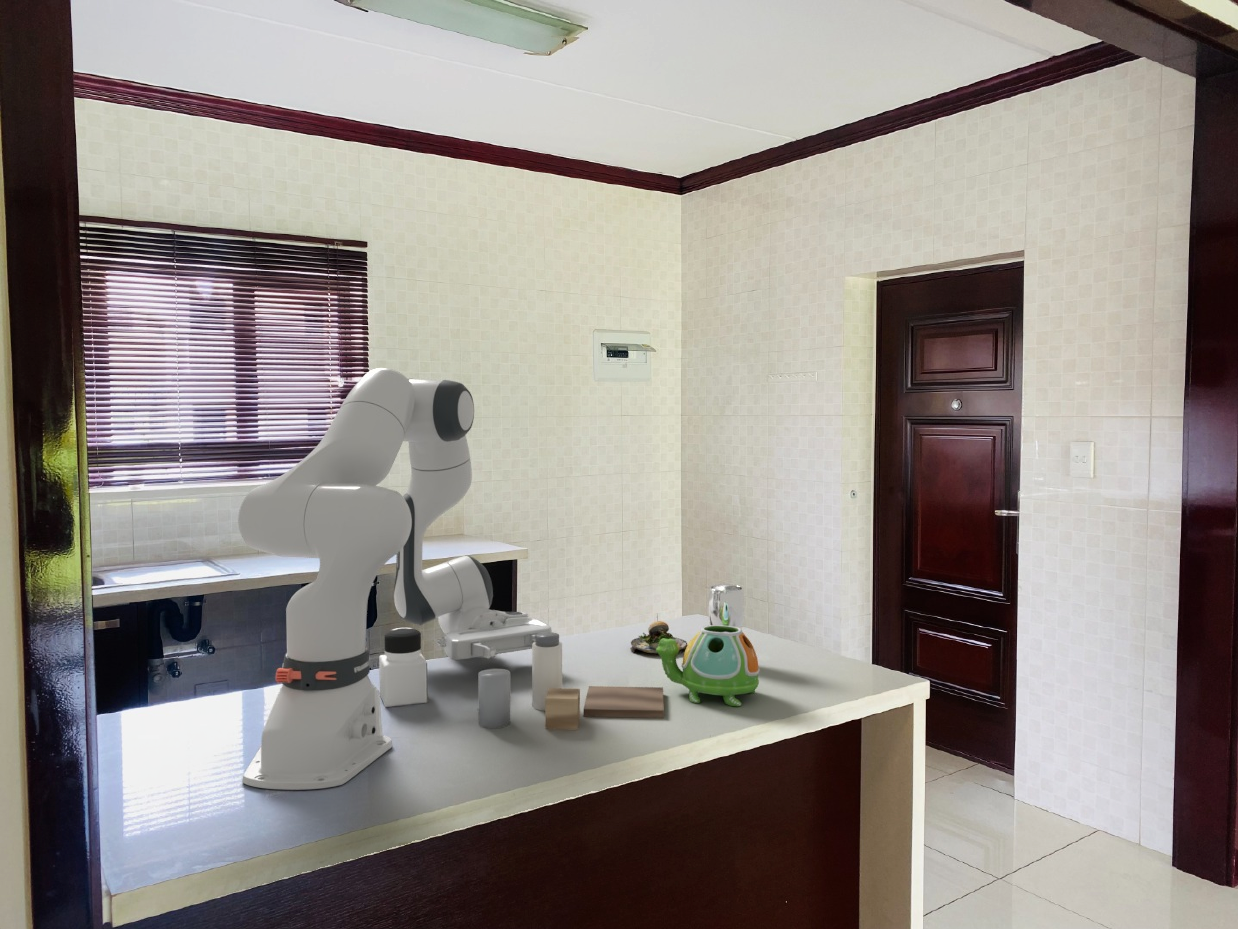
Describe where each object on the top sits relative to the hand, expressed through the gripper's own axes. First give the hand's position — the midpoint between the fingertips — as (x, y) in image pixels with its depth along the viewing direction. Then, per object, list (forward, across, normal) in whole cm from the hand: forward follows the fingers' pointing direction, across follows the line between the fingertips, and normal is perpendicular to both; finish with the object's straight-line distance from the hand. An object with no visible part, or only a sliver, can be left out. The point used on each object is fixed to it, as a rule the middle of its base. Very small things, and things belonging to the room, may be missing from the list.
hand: (516, 649), depth 162 cm
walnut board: (+19, +11, +7) cm, 23 cm away
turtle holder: (+22, +27, +7) cm, 36 cm away
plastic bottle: (+12, 0, +7) cm, 14 cm away
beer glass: (+8, +42, +7) cm, 43 cm away
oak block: (+21, -2, +7) cm, 22 cm away
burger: (-7, +36, +7) cm, 37 cm away
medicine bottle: (-4, -20, +7) cm, 21 cm away
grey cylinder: (+15, -11, +7) cm, 20 cm away
